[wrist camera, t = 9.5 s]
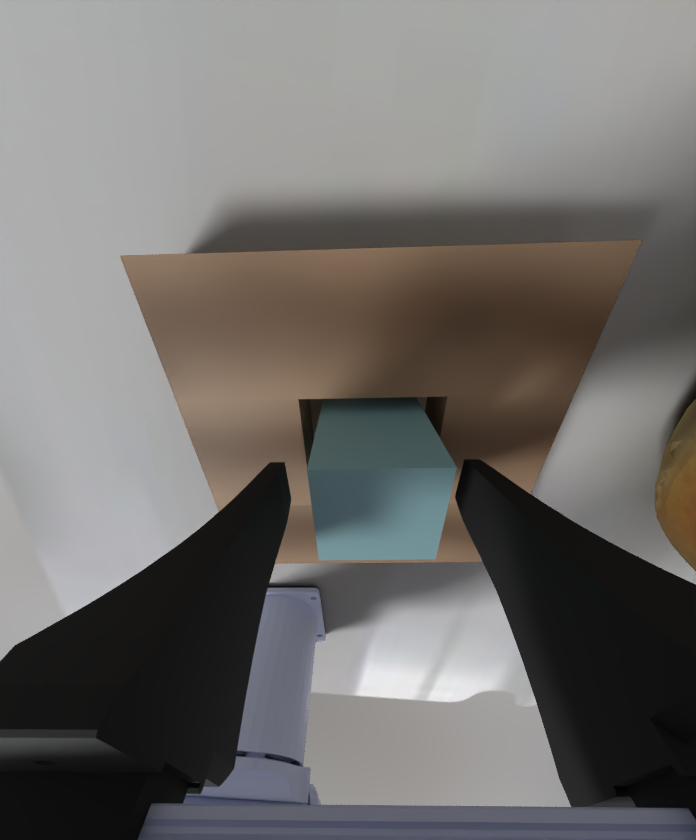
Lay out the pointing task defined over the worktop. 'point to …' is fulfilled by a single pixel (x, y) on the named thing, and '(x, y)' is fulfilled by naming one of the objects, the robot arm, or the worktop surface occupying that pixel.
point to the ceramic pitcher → (679, 487)
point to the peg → (378, 480)
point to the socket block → (376, 353)
